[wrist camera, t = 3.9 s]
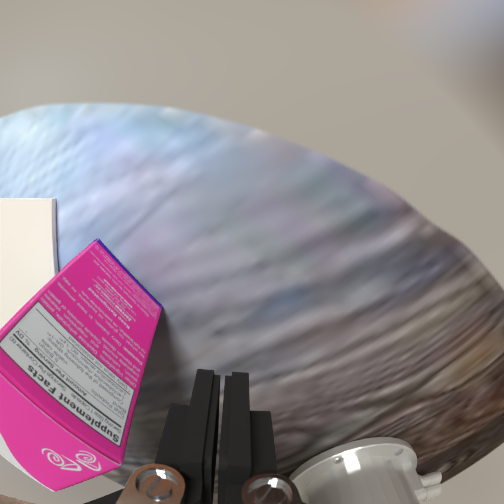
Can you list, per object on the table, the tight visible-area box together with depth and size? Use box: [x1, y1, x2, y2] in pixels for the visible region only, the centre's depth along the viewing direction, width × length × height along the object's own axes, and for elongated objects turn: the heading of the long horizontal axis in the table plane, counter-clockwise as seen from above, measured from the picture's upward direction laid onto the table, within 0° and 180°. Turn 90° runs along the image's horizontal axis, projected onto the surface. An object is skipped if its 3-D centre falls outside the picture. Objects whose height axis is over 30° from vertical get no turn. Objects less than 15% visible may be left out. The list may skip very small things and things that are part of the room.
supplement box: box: [0, 238, 162, 492], centre depth 12 cm, size 6×6×12 cm
